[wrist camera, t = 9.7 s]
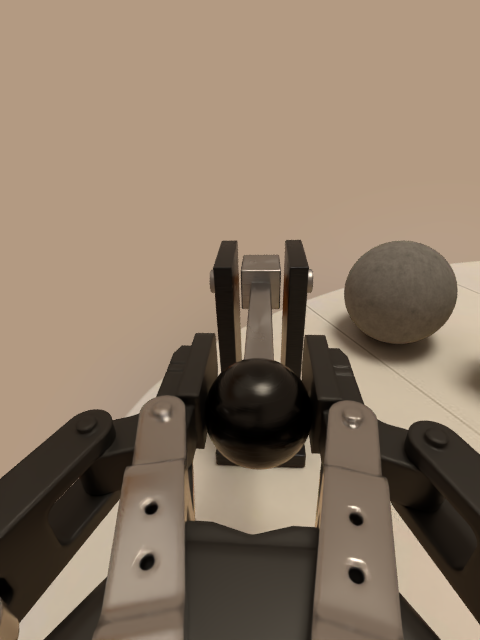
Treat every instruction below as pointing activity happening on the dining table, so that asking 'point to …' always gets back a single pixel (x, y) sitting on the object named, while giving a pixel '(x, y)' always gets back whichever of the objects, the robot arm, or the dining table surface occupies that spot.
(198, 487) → the dining table surface
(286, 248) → the bracket
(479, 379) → the dining table surface
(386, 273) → the decorative ball
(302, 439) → the lever
